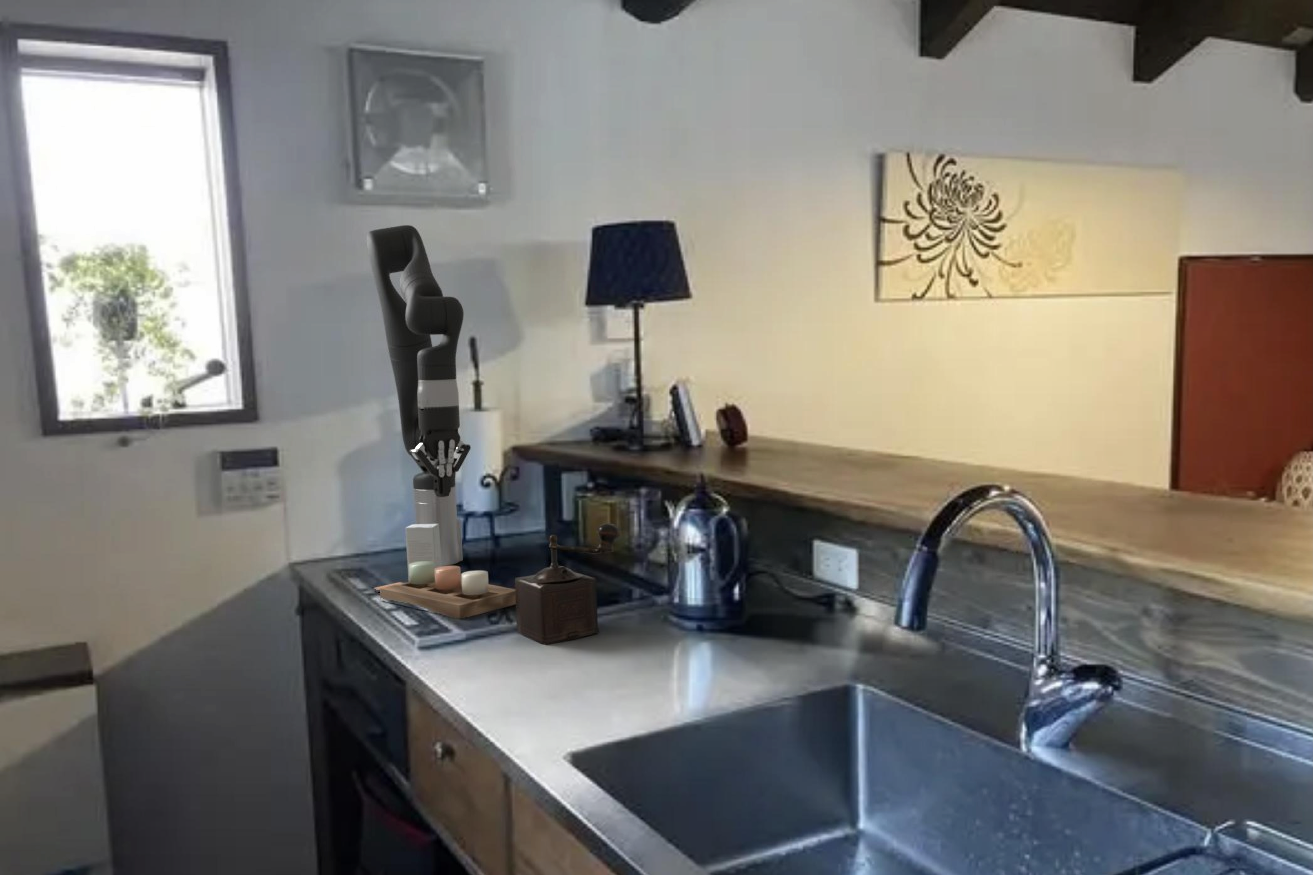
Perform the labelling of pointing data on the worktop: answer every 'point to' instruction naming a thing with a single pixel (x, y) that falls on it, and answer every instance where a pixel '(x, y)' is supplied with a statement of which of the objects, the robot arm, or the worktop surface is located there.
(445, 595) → the button board
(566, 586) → the coffee grinder
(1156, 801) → the worktop surface
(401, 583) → the tile
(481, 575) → the button cream
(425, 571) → the button sage
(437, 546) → the skincare box
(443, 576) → the peach rounded piece
